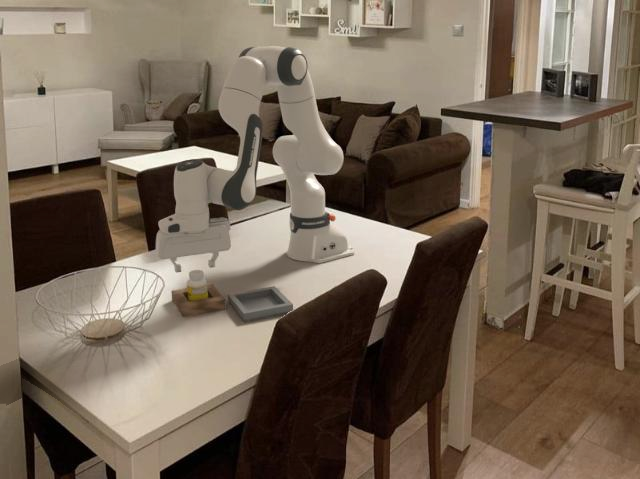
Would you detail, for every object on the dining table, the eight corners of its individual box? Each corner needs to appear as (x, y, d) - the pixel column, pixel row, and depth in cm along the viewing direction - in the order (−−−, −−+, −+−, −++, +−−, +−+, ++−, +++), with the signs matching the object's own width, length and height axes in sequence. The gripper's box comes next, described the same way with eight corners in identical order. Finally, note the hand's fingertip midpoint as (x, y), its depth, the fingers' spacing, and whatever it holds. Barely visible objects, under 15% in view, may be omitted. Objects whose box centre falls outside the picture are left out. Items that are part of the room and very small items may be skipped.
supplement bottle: (189, 301, 206) (187, 269, 203) (208, 300, 207) (207, 268, 203) (187, 309, 201) (185, 276, 198) (207, 308, 202) (205, 275, 198)
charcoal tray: (274, 294, 211) (274, 286, 210) (293, 312, 199) (293, 304, 198) (228, 302, 205) (227, 294, 204) (244, 322, 193) (244, 313, 192)
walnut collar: (213, 293, 211) (212, 283, 210) (225, 309, 201) (225, 299, 200) (172, 300, 207) (171, 290, 206) (182, 317, 196) (182, 306, 195)
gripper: (226, 213, 202) (228, 260, 207) (152, 222, 194) (155, 270, 199) (233, 219, 197) (234, 267, 201) (157, 228, 189) (161, 278, 193)
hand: (195, 269), depth 200 cm, fingers open, 8 cm apart
